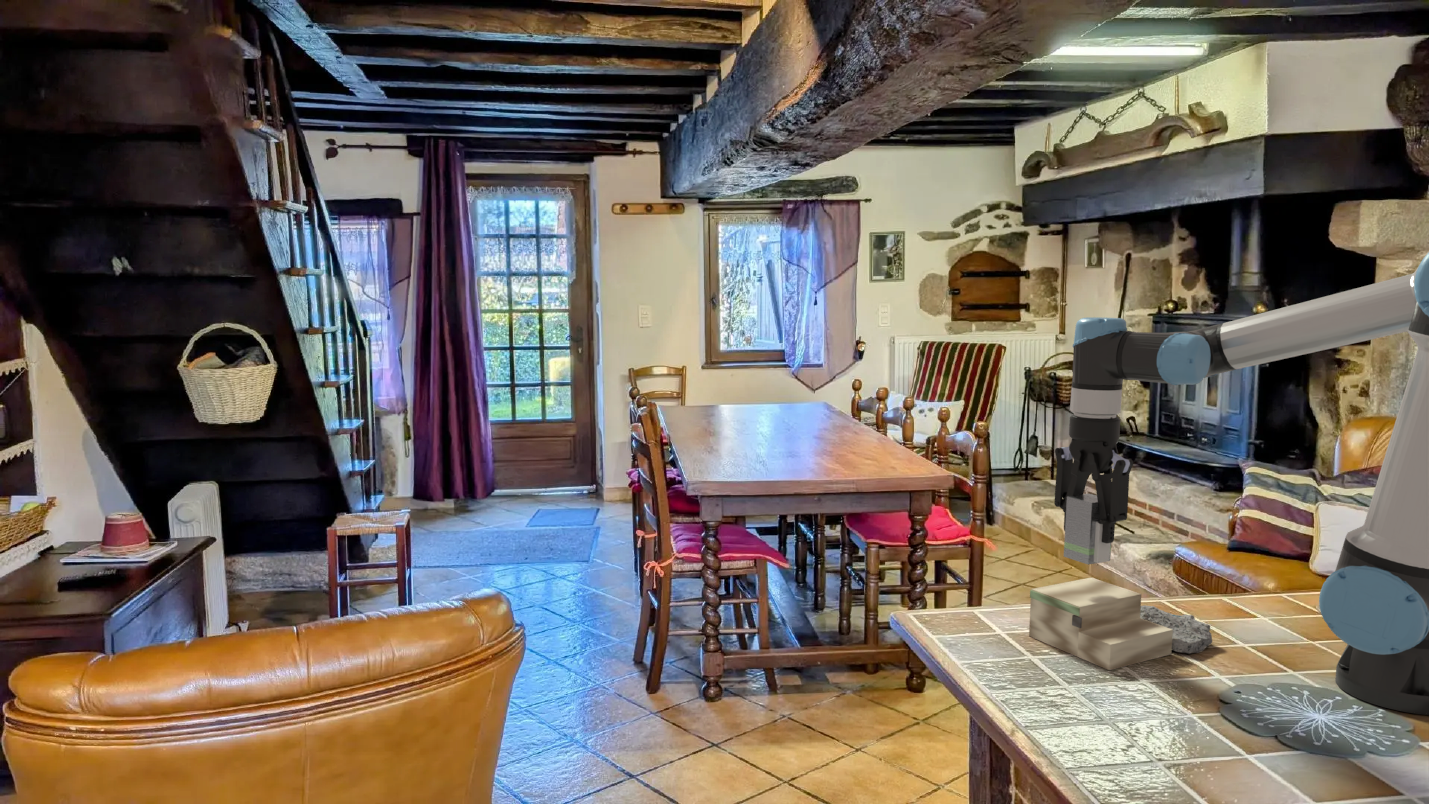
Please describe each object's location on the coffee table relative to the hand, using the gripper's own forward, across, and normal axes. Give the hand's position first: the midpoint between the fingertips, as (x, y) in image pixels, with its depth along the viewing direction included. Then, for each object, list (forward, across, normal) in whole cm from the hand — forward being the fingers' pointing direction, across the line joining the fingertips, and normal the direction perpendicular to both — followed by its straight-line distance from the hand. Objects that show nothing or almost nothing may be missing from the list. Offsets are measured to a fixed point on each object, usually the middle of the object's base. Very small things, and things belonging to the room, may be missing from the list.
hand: (1087, 556), depth 155 cm
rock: (+14, -6, -12) cm, 20 cm away
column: (0, 0, 0) cm, 0 cm away
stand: (+14, -3, 0) cm, 14 cm away
